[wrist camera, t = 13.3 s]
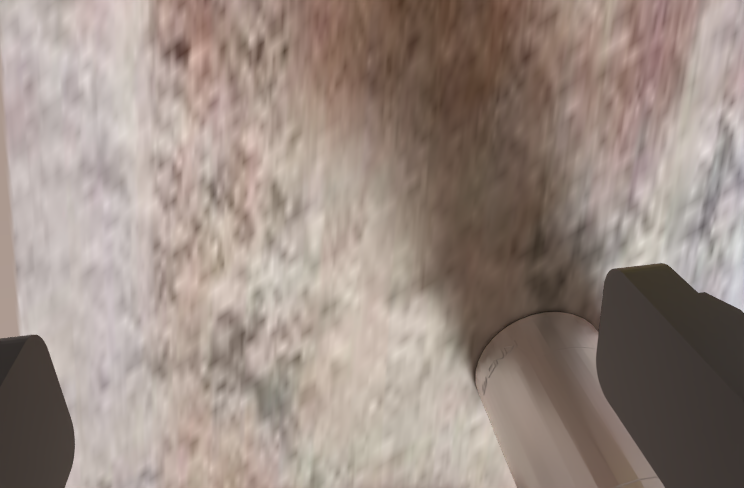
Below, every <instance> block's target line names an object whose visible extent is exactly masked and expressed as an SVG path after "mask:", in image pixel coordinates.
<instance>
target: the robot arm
mask: <svg viewBox="0 0 744 488" xmlns="http://www.w3.org/2000/svg"><path fill="white" fill-rule="evenodd" d="M476 386H477V390H478V393H479V396H480V398H481V401H482V403H483V405H484V408H485V410H486V413H487V415H488V418H489V420H490V422H491V425H492V427H493V430H494V433H495V435H496V438H497V440H498V442H499V445H500V447H501V450H502V452H503V455H504V457H505V459H506V462H507V464H508V467H509V469H510V471H511V474H512V476H513V479H514V481H515V484H516V486H517V488H744V313H743V312H742V311H741V310H740V309H738V308H736V307H734V306H732V305H730V304H728V303H726V302H723V301H721V300H719V299H717V298H715V297H713V296H711V295H709V294H707V293H705V292H703V293H698V292H697V291H696V290H694V289H693V288H692V287H691V286H690V285H689V284H688V283H687V282H686V281H685V280H684V279H683V278H681V277H680V276H679V275H678V274H677V273H676V272H675V271H674V270H673V269H672V268H671V267H669V266H668V265H666V264H662V263H660V264H651V265H643V266H634V267H626V268H617V269H612V270H610V271H609V273H608V274H607V276H606V279H605V282H604V289H603V298H602V307H601V316H600V325H599V332H598V331H597V330H596V328H595V327H594V326H593V325H592V324H591V323H589V322H588V321H586V320H585V319H584V318H581V317H579V316H576V315H573V314H570V313H563V312H544V313H539V314H535V315H530V316H528V317H525V318H523V319H520V320H518V321H516V322H514V323H512V324H511V325H509V326H508V327H506V328H504V329H503V330H502V331H501V332H500V333H498V334H497V335H496V336H495V337H494V338H493V339H492V340H491V341H490V343H489V344H488V345H487V346H486V348H485V349H484V351H483V353H482V355H481V357H480V358H479V360H478V364H477V368H476ZM74 450H75V439H74V429H73V424H72V420H71V417H70V414H69V411H68V408H67V405H66V402H65V399H64V396H63V393H62V390H61V387H60V384H59V381H58V378H57V375H56V372H55V369H54V366H53V363H52V360H51V357H50V354H49V351H48V349H47V346H46V344H45V342H44V341H43V339H42V338H41V337H40V336H38V335H27V336H18V337H10V338H1V339H0V488H65V485H66V482H67V479H68V477H69V474H70V471H71V468H72V464H73V459H74Z"/></svg>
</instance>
